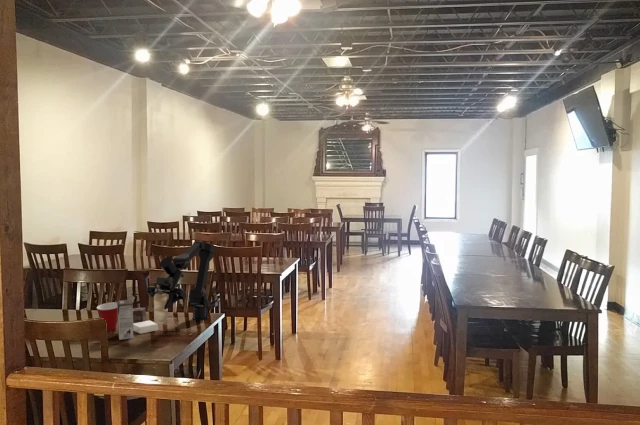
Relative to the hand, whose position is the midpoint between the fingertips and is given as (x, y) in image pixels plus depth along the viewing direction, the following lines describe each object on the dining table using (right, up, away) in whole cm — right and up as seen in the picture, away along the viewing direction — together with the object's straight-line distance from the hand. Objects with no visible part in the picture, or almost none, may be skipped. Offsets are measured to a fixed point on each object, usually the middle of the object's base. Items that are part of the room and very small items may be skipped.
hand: (159, 308), depth 241 cm
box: (-18, -12, +26) cm, 34 cm away
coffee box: (-16, -14, +3) cm, 21 cm away
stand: (-11, -13, +13) cm, 21 cm away
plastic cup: (-28, -13, +15) cm, 35 cm away
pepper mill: (+1, -6, +2) cm, 7 cm away
